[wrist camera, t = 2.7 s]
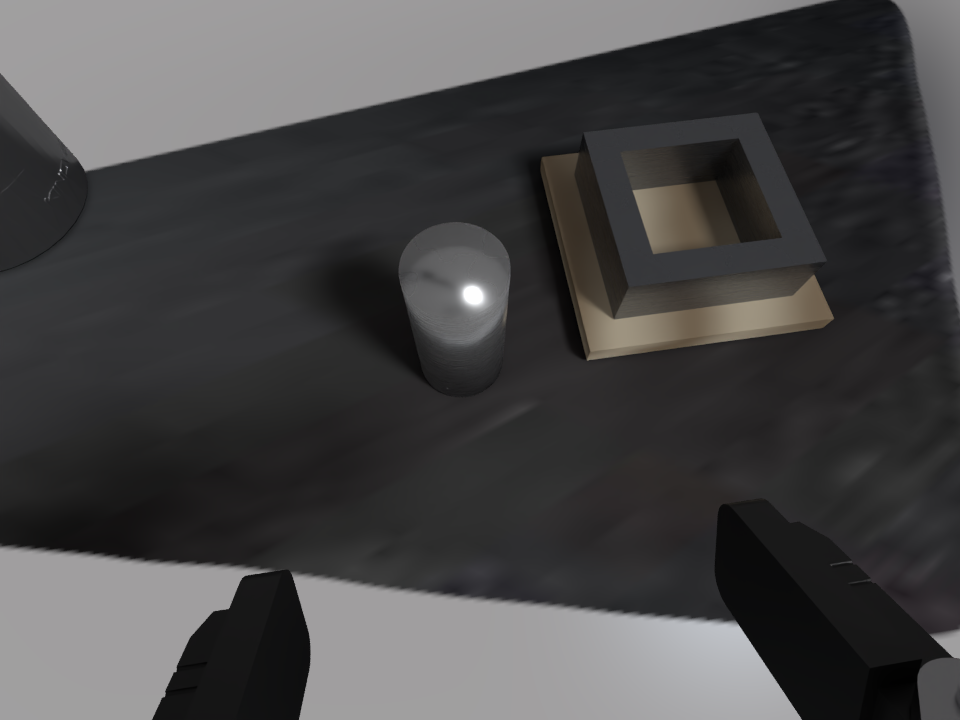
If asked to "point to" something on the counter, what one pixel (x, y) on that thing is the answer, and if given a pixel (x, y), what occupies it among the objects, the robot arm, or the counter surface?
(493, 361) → the cylinder
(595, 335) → the board
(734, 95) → the counter surface
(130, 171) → the counter surface
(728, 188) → the sleeve
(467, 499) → the counter surface
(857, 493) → the counter surface
